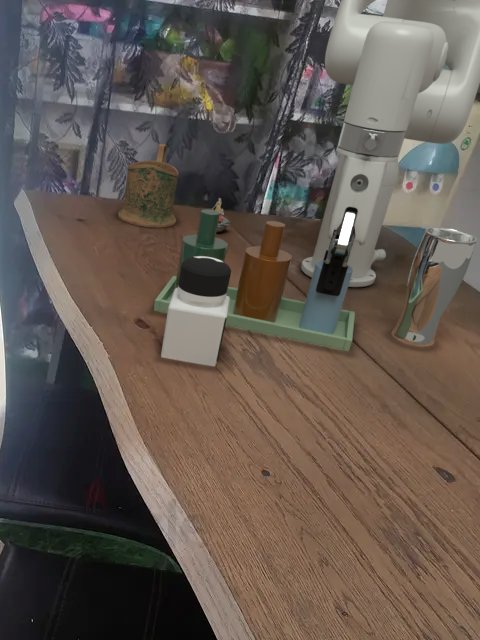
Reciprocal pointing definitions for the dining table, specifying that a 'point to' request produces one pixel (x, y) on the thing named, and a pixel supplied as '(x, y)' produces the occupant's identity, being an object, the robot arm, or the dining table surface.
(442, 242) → the beer glass
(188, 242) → the green bottle
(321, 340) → the tray
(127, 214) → the bronze bell
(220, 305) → the medicine bottle
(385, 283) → the dining table surface
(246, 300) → the amber bottle
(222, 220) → the figurine
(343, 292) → the blue bottle
